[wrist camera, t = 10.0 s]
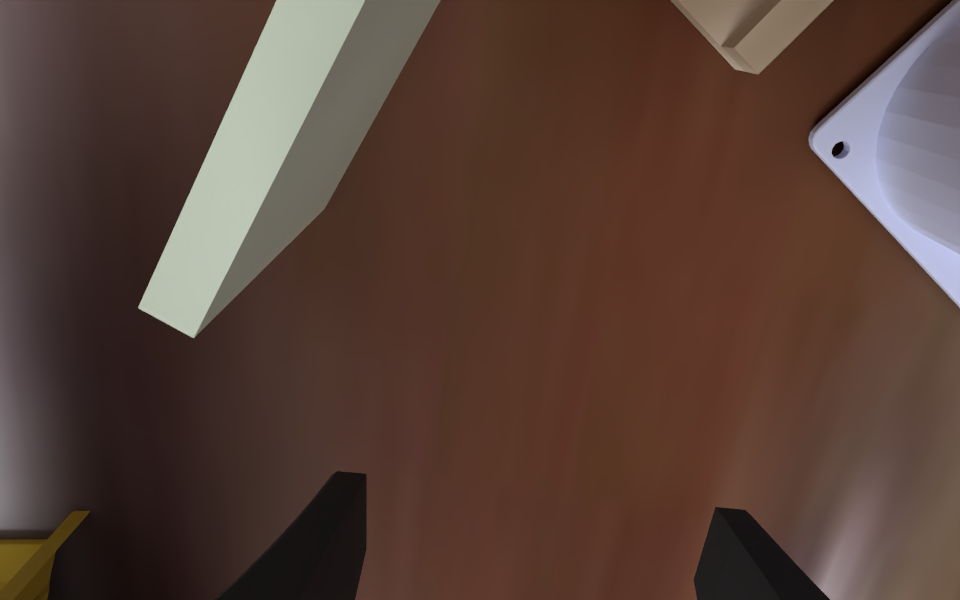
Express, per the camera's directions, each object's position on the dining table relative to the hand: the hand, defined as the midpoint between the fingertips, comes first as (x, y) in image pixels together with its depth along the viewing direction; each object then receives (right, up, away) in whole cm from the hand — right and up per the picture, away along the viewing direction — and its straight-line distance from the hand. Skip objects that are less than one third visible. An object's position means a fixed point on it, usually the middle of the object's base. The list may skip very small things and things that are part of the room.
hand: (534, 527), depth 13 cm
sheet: (-5, +11, +7) cm, 14 cm away
